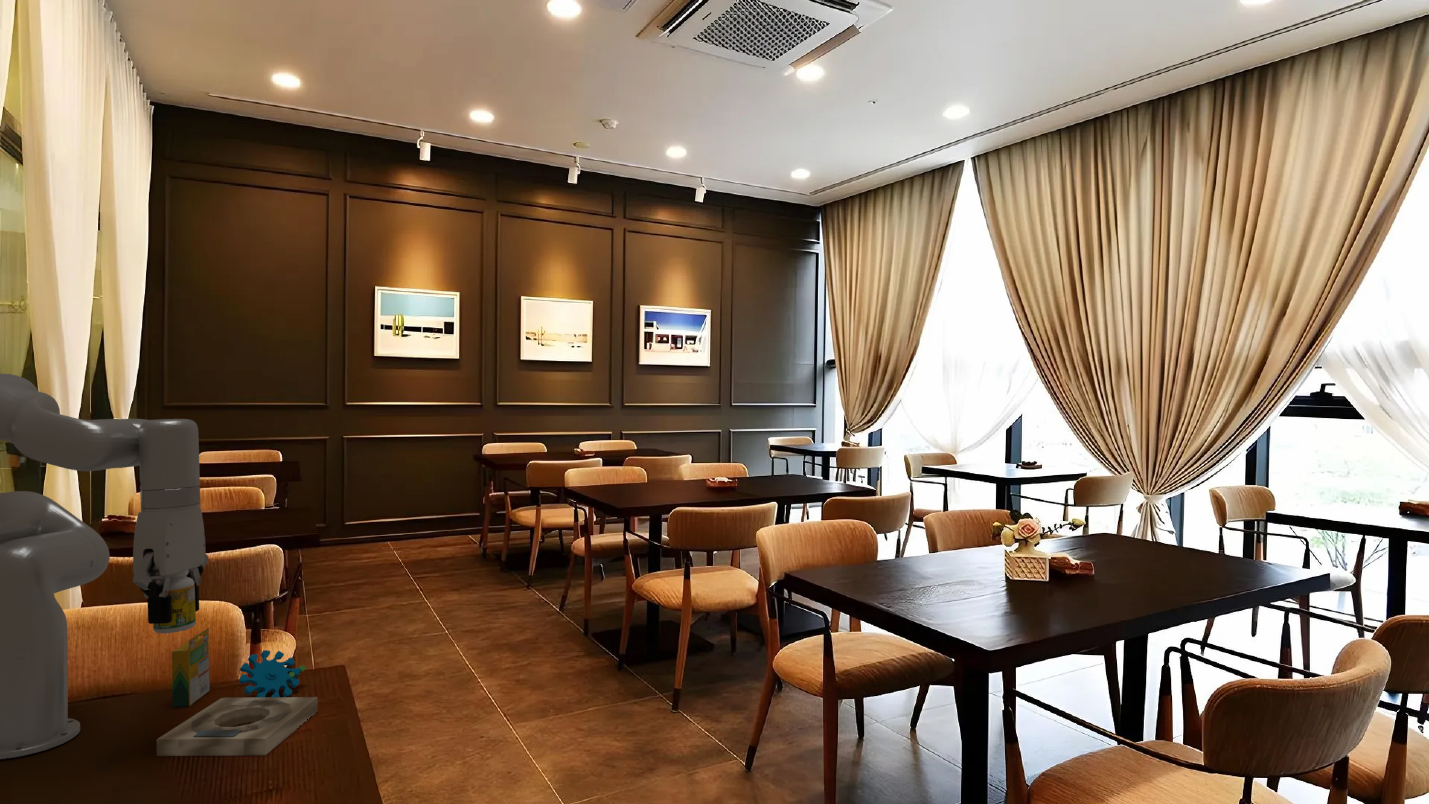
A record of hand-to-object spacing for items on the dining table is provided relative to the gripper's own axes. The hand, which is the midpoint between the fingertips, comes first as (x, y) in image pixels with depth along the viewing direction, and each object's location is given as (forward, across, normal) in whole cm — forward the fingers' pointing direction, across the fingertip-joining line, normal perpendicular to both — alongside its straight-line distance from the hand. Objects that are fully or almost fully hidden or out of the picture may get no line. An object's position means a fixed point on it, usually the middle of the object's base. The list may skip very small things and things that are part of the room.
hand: (174, 616), depth 119 cm
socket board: (+20, -4, +7) cm, 22 cm away
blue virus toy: (+20, -20, +3) cm, 29 cm away
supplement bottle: (+2, 0, 0) cm, 2 cm away
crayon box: (+20, -18, -10) cm, 29 cm away
